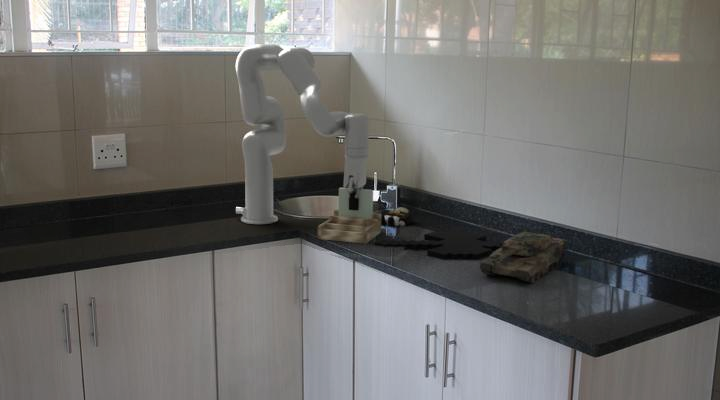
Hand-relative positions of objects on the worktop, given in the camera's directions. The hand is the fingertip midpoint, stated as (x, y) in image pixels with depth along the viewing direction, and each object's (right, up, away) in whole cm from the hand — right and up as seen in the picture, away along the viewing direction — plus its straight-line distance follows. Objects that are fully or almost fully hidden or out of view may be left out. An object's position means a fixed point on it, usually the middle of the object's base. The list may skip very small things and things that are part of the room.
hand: (355, 208), depth 263 cm
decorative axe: (+28, -13, -12) cm, 33 cm away
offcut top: (-1, -6, -4) cm, 7 cm away
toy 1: (+13, -6, +16) cm, 22 cm away
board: (0, -8, +2) cm, 8 cm away
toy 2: (+46, -18, -38) cm, 62 cm away
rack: (-2, -10, -3) cm, 10 cm away
